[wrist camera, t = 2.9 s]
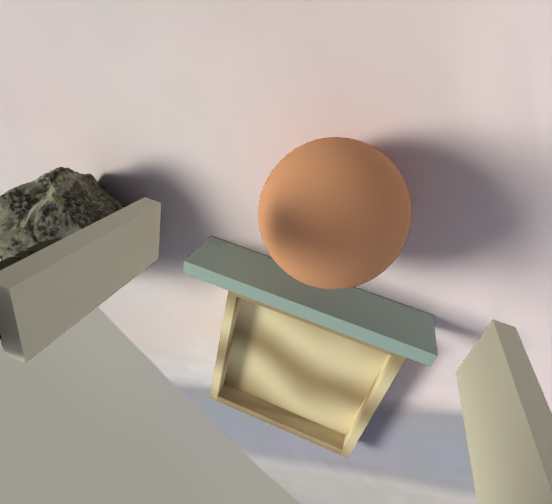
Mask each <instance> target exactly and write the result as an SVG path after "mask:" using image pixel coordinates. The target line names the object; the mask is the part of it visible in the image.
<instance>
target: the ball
mask: <svg viewBox="0 0 552 504" xmlns="http://www.w3.org/2000/svg"><path fill="white" fill-rule="evenodd" d="M411 216H412V207H411V199H410V195H409V191H408V187H407V185H406V182H405V180H404V178H403V176H402V174H401V173H400V171H399V169H398V168H397V167H396V166H395V164H394V163H393V162H392V161H391V160H390V159H389V158H388V157H387V156H386V155H385V154H383V153H382V152H380V151H379V150H378V149H376V148H374V147H373V146H371V145H369V144H367V143H364V142H361V141H358V140H354V139H350V138H341V137H330V138H322V139H317V140H314V141H311V142H308V143H306V144H304V145H302V146H300V147H298V148H296V149H294V150H293V151H291V152H290V153H289V154H287V155H286V156H285V157H284V158H283V159H282V160H281V161H280V162H279V163H278V164H277V165H276V167H275V168H274V169H273V170H272V172H271V173H270V175H269V177H268V178H267V180H266V183H265V185H264V187H263V190H262V193H261V197H260V202H259V211H258V218H259V228H260V232H261V236H262V239H263V242H264V244H265V247H266V249H267V250H268V252H269V254H270V255H271V257H272V258H273V260H274V261H275V262H276V263H277V264H278V265H279V267H280V268H281V269H283V270H284V271H285V272H286V273H287V274H289V275H290V276H291V277H293V278H294V279H296V280H298V281H300V282H302V283H304V284H307V285H310V286H313V287H317V288H323V289H345V288H351V287H355V286H358V285H360V284H363V283H365V282H368V281H370V280H372V279H373V278H375V277H377V276H378V275H379V274H381V273H382V272H383V271H385V270H386V269H387V268H388V267H389V266H390V265H391V264H392V263H393V262H394V260H395V259H396V258H397V256H398V255H399V253H400V251H401V250H402V248H403V246H404V244H405V242H406V239H407V237H408V234H409V230H410V225H411Z"/></svg>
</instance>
